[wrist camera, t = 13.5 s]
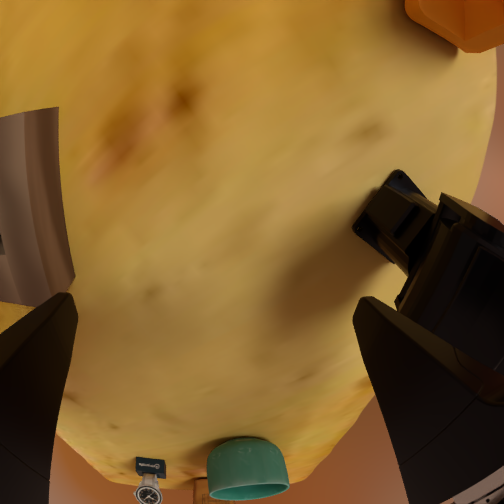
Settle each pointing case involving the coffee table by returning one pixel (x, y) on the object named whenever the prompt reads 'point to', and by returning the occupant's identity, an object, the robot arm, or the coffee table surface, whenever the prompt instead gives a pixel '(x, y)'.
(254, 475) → the mug
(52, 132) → the hole block
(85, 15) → the coffee table surface
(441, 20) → the bracket
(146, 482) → the watch
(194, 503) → the coffee package
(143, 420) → the coffee table surface
